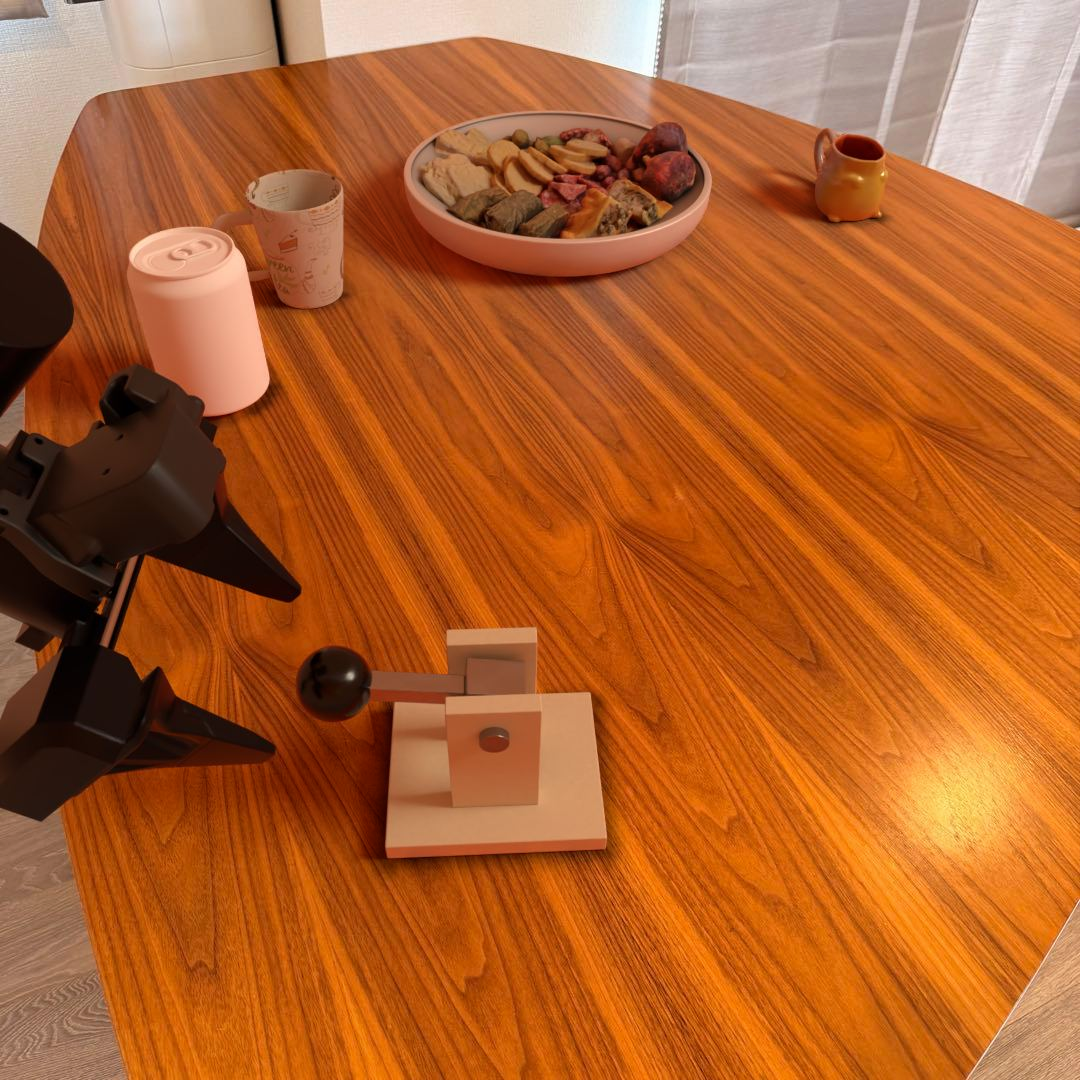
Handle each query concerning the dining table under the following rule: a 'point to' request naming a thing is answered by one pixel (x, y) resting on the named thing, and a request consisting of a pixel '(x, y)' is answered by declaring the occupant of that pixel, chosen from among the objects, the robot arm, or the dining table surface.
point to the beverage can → (199, 316)
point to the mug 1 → (296, 234)
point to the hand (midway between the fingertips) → (284, 669)
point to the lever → (393, 683)
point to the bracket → (494, 764)
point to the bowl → (558, 191)
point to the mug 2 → (849, 176)
